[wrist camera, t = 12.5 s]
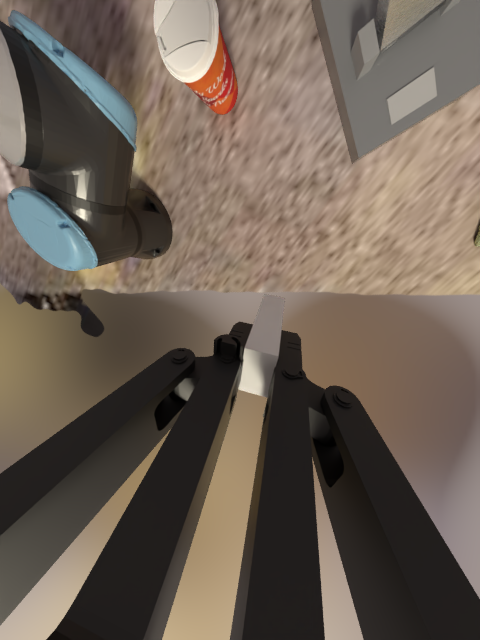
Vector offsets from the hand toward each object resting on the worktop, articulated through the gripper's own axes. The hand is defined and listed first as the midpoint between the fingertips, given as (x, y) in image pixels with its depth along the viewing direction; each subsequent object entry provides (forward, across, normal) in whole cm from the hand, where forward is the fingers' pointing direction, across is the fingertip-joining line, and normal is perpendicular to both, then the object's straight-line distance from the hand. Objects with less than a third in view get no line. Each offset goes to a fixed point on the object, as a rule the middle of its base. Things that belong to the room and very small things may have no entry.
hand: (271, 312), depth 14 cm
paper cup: (+33, -16, +23) cm, 43 cm away
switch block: (+32, +8, +27) cm, 43 cm away
